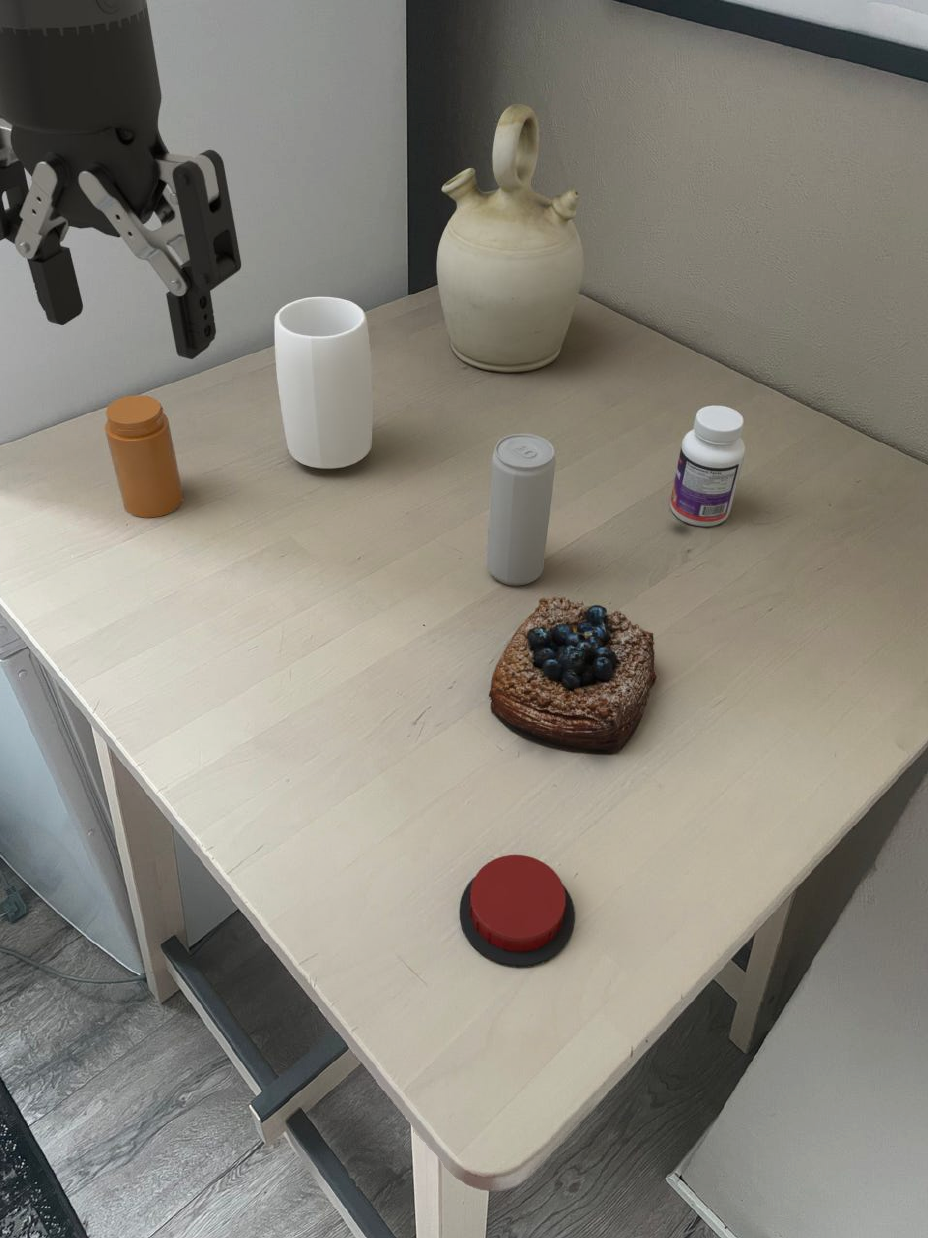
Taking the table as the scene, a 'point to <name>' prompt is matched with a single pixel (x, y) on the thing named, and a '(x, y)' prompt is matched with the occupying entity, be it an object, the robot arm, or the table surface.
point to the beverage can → (519, 508)
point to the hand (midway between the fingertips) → (129, 334)
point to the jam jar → (143, 456)
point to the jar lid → (517, 903)
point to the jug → (509, 258)
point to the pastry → (574, 678)
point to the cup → (324, 381)
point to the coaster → (515, 957)
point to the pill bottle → (708, 467)
